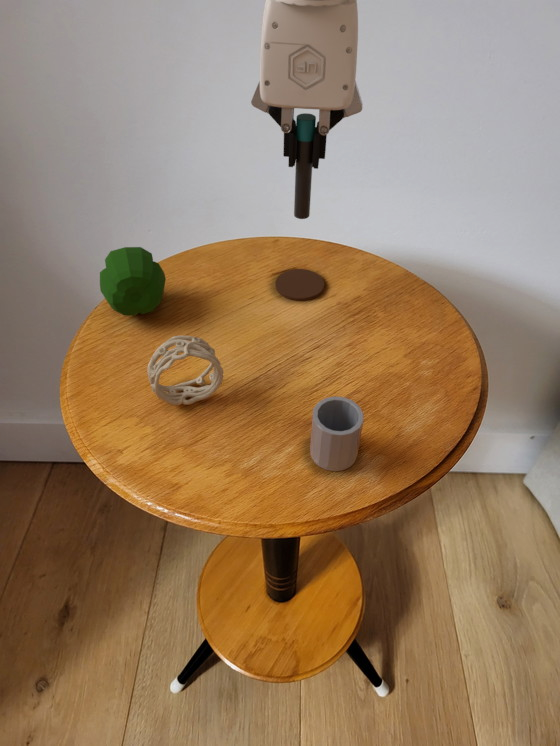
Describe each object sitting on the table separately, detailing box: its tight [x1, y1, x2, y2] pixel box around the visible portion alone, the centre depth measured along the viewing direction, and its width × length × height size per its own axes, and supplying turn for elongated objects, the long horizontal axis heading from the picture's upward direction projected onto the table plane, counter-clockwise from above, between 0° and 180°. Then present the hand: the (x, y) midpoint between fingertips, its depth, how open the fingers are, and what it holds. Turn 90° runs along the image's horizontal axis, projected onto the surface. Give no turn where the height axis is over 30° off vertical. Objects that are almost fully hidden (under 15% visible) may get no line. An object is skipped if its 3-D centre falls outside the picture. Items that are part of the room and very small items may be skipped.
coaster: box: [274, 268, 325, 302], centre depth 81 cm, size 7×7×1 cm
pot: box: [309, 396, 365, 472], centre depth 58 cm, size 5×5×6 cm
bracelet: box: [146, 335, 224, 406], centre depth 63 cm, size 4×8×8 cm, turn 112°
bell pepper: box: [99, 246, 167, 317], centre depth 75 cm, size 8×8×10 cm
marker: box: [293, 112, 317, 220], centre depth 69 cm, size 2×2×12 cm
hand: (304, 161), depth 68 cm, fingers closed on marker, 2 cm apart
